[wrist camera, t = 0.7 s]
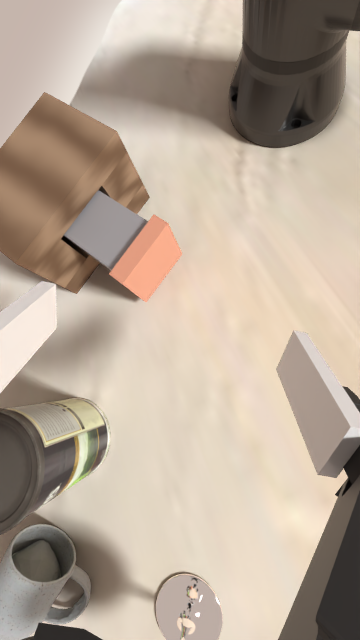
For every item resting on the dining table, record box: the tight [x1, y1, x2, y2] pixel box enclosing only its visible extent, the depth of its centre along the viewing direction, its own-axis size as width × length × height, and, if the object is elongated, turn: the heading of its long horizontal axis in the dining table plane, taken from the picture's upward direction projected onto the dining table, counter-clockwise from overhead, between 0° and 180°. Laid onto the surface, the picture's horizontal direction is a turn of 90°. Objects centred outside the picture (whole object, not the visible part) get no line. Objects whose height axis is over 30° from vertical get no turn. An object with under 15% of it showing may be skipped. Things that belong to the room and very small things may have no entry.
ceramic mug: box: [0, 524, 91, 640], centre depth 32 cm, size 11×8×8 cm
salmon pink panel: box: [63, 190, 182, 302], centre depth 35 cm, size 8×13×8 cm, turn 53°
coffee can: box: [0, 398, 110, 535], centre depth 31 cm, size 10×10×14 cm
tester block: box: [0, 92, 149, 294], centre depth 38 cm, size 18×12×12 cm, turn 143°
